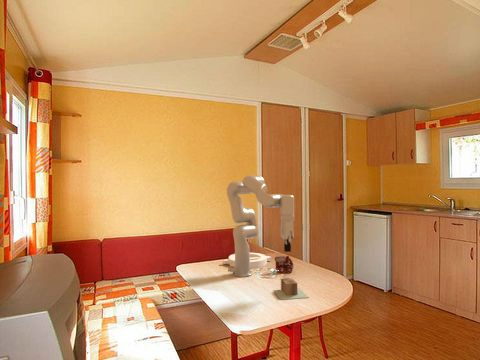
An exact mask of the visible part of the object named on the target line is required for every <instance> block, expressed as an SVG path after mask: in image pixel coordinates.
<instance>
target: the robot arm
mask: <svg viewBox="0 0 480 360" xmlns="http://www.w3.org/2000/svg"><path fill="white" fill-rule="evenodd" d="M265 182H266V181H265V179H264V178H263V176H261V175H252V174H250V175H246V176H245V177H243V178H242V180H240V181H237V180H235V181H231V182H229V183H228V185H227V187H226V197H227V198H228V201H229V205H230V210H231V215H232V220H233V222H234V224H240V225H237V226H235V227H234V228H233V229H232V235H233V240H234V254H235V266H234V267H232V268H230V267H228V268H227V272H230V273H232V275H233V276H235V277H237V278H238V277H239V278H245V277H251V276H252V275H253V271H252V270H251V268H250V253H251V251H250V248H251V247H250V244H249V242H248V240H250V239H255V238H257V237H258V235H259V226H258V221H257V220H258V219H257V216H256V212H255V210H254V209H253V208H251V207H245V206H244V202H243V200H242V198H241V196H240V195H250V194H254V195H255V198H256V200H257V202H258V203H259V204H261V205H262V206H263V207H265V208H267V209H274V208H275V209H276V208H280V234H279V235H280V237H281V238H282V239H283V245H284V246H283V248H284V252H285V253H288V252H290V253H291V251H292V246H291V245H292V241H293V240H294V236H295V233H294V232H295V231H294V228H295V227H294V221H295V197H294V195H292V194H282V193H276V194H275V193H273V194H271V193H270V194H269V193H268V192H267V190H268V187H267V184H266V183H265ZM243 223H244V224H243Z"/></svg>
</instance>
